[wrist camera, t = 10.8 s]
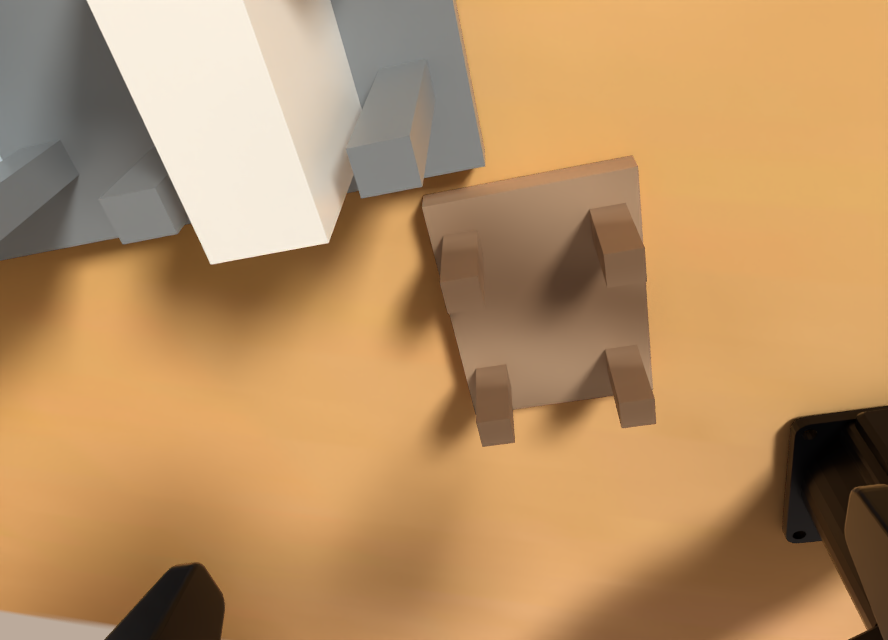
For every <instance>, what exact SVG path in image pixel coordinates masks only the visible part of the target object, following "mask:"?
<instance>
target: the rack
mask: <svg viewBox="0 0 888 640" xmlns="http://www.w3.org/2000/svg"><path fill="white" fill-rule="evenodd" d="M330 1H331V5H332V8H333V11H334V15H335V18H336V22H337V25H338V29H339V32H340V36H341V39H342V43H343V46H344V50H345V53H346V57H347V60H348V64H349V67H350V71H351V74H352V77H353V81H354V84H355V88H356V91H357V95H358V98H359V102H360V105H361V109H362V111H361V113H360V116H359V118H358V121H357V123H356V125H355V128H354V130H353V133H352V135H351V137H350V140H349V142H348V145H347V147H346V151H347V155H348V158H349V161H350V164H351V168H352V171H353V174H354V175H353V177H352V180H351V183H350V186H349V188H348V191H347V193H350V192H355V191H359V193H360V196H361V198H367V197H372V196H377V195H382V194H387V193H393V192H398V191H403V190H408V189H413V188H418V187H423V180H424V178H427V177H432V176H437V175H442V174H448V173H453V172H458V171H463V170H468V169H473V168H478V167H484V166H485V149H484V144H483V139H482V133H481V128H480V123H479V118H478V113H477V108H476V103H475V97H474V92H473V87H472V82H471V77H470V72H469V67H468V61H467V56H466V51H465V46H464V41H463V36H462V31H461V25H460V20H459V15H458V10H457V5H456V0H330ZM0 157H1V158H2V160H3V161H1V162H0V261H1V260H6V259H11V258H16V257H21V256H27V255H32V254H37V253H42V252H47V251H52V250H57V249H63V248H68V247H73V246H78V245H83V244H88V243H93V242H98V241H104V240H109V239H114V238H119V239H120V241H121V242H122V244H128V243H133V242H139V241H144V240H149V239H154V238H159V237H164V236H170V235H175V234H178V233H179V231H180V230H181V229H182V227H183V226H184V225H186V224H191V221H190V219H189V217H188V215H187V213H186V211H185V209H184V206H183V204H182V202H181V200H180V198H179V196H178V194H177V192H176V189H175V187H174V185H173V183H172V181H171V179H170V177H169V175H168V172H167V170H166V168H165V166H164V164H163V162H162V160H161V158H160V155H159V153H158V151H157V149H156V147H155V145H154V143H153V141H152V138H151V136H150V134H149V132H148V130H147V128H146V126H145V123H144V121H143V119H142V117H141V115H140V113H139V111H138V109H137V106H136V104H135V102H134V100H133V98H132V96H131V94H130V92H129V89H128V87H127V85H126V83H125V81H124V79H123V77H122V75H121V72H120V70H119V68H118V66H117V64H116V62H115V60H114V58H113V55H112V53H111V51H110V49H109V47H108V45H107V43H106V40H105V38H104V36H103V34H102V32H101V30H100V28H99V26H98V23H97V21H96V19H95V17H94V15H93V13H92V11H91V9H90V6H89V4H88V2H87V0H0Z"/></svg>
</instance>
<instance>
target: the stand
mask: <svg viewBox="0 0 888 640" xmlns="http://www.w3.org/2000/svg"><path fill="white" fill-rule="evenodd" d="M422 210H423V214H424V217H425V221H426V225H427V229H428V233H429V237H430V241H431V244H432V248H433V252H434V256H435V260H436V264H437V268H438V271H439V275H440V286H441V290H442V293H443V297H444V301H445V305H446V309H447V312H448V314H450V318H451V321H452V325H453V329H454V333H455V337H456V341H457V345H458V348H459V352H460V356H461V360H462V364H463V368H464V371H465V375H466V379H467V383H468V387H469V391H470V395H471V398H472V402H473V406H474V410H475V414H476V423H477V427H478V431H479V435H480V439H481V443H482V446H483V447H485V446H492V445H500V444H508V443H515V435H514V421H513V410H514V409H521V408H528V407H535V406H542V405H549V404H557V403H564V402H571V401H578V400H585V399H592V398H599V397H607V396H614V400H615V404H616V408H617V411H618V415H619V419H620V423H621V427H622V428H628V427H636V426H643V425H651V424H656V413H655V398H654V395H653V392H652V390H653V384H652V369H651V354H650V339H649V324H648V309H647V294H646V282H647V276H646V260H645V247H644V245H643V234H642V219H641V204H640V189H639V174H638V165H637V164H636V162H635V160H634V158H633V156H627V157H622V158H617V159H611V160H606V161H601V162H596V163H590V164H585V165H580V166H575V167H570V168H564V169H559V170H554V171H549V172H543V173H538V174H533V175H528V176H522V177H517V178H512V179H507V180H501V181H496V182H491V183H486V184H480V185H475V186H470V187H465V188H460V189H454V190H449V191H444V192H439V193H433V194H428V195H423V203H422Z"/></svg>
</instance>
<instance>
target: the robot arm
mask: <svg viewBox="0 0 888 640" xmlns="http://www.w3.org/2000/svg"><path fill="white" fill-rule="evenodd" d="M807 430H809V431H807ZM805 431H807V432H805ZM782 529H783V532H784V535H785V537H786V539H787V540H788V541H789V542H792V543H805V542H814V541H823V543H824V545H825V547H826V549H827V551H828V553H829V555H830V557H831V559H832V561H833V563H834V565H835V567H836V569H837V571H838V573H839V575H840V577H841V579H842V581H843V583H844V585H845V587H846V589H847V591H848V593H849V595H850V597H851V599H852V601H853V603H854V605H855V607H856V609H857V611H858V613H859V615H860V617H861V619H862V621H863V623H864V625H865V627H866V629H867V631H865V632H863V633H861V634H859V635H857V636H855V637H853V638H851V639H849V640H888V406H883V407H875V408H868V409H860V410H852V411H845V412H837V413H829V414H822V415H814V416H806V417H802V418H800V419H798V420H796V421H795V422H794V423H793V424H792V425H791V428H790V439H789V451H788V464H787V476H786V488H785V500H784V513H783V525H782ZM224 611H225V602H224V597H223V594H222V592H221V591H220V589H219V588H218V586H217V584H216V583H215V581H214V580H213V578H212V577H211V575H210V574H209V572H208V571H207V569H206V568H205V567H204V565H202V564H200V563H197V562H195V563H186V564H178V565H175V566H173V567H171V568H170V569H169V570H168V571H167V572H166V573H165V574H164V575H163V576H162V577H161V578H160V579H159V580H158V582H157V583H156V584H155V585H154V586H153V587H152V588H151V589H150V590H149V591H148V592H147V594H146V595H145V596H144V597H143V598H142V599H141V600H140V601H139V602H138V603H137V604H136V606H135V607H134V608H133V609H132V610H131V611H130V612H129V613H128V614H127V615H126V617H125V618H124V619H123V620H122V621H121V622H120V623H119V624H118V625H117V626H116V627H115V629H114V630H113V631H112V632H111V633H110V634H109V635H108V636H107V637H106V639H105V640H221V634H222V626H223V619H224Z"/></svg>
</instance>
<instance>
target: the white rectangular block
mask: <svg viewBox="0 0 888 640" xmlns="http://www.w3.org/2000/svg"><path fill="white" fill-rule="evenodd" d="M87 2H88V4H89V6H90V9H91V11H92V13H93V15H94V17H95V19H96V21H97V23H98V26H99V28H100V30H101V32H102V34H103V36H104V38H105V40H106V43H107V45H108V47H109V49H110V51H111V53H112V55H113V58H114V60H115V62H116V64H117V66H118V68H119V70H120V72H121V75H122V77H123V79H124V81H125V83H126V85H127V87H128V89H129V92H130V94H131V96H132V98H133V100H134V102H135V104H136V106H137V109H138V111H139V113H140V115H141V117H142V119H143V121H144V123H145V126H146V128H147V130H148V132H149V134H150V136H151V138H152V141H153V143H154V145H155V147H156V149H157V151H158V153H159V155H160V158H161V160H162V162H163V164H164V166H165V168H166V170H167V172H168V175H169V177H170V179H171V181H172V183H173V185H174V187H175V189H176V192H177V194H178V196H179V198H180V200H181V202H182V204H183V206H184V209H185V211H186V213H187V215H188V217H189V219H190V221H191V223H192V226H193V228H194V230H195V232H196V234H197V236H198V238H199V241H200V243H201V245H202V247H203V249H204V251H205V253H206V255H207V258H208V260H209V262H210V264H217V263H222V262H228V261H233V260H239V259H244V258H249V257H255V256H260V255H266V254H271V253H277V252H282V251H287V250H293V249H298V248H304V247H309V246H315V245H320V244H326V243H329V241H330V238H331V235H332V233H333V230H334V227H335V224H336V222H337V219H338V216H339V213H340V210H341V208H342V205H343V202H344V199H345V197H346V194H347V191H348V188H349V186H350V183H351V180H352V177H353V175H354V174H353V171H352V168H351V164H350V161H349V158H348V155H347V151H346V147H347V145H348V142H349V140H350V137H351V135H352V133H353V130H354V128H355V125H356V123H357V121H358V118H359V116H360V113H361V111H362V109H361V105H360V102H359V98H358V95H357V91H356V88H355V84H354V81H353V77H352V74H351V71H350V67H349V64H348V60H347V57H346V53H345V50H344V46H343V43H342V39H341V36H340V32H339V29H338V25H337V22H336V18H335V15H334V11H333V8H332V5H331V1H330V0H87Z"/></svg>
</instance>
